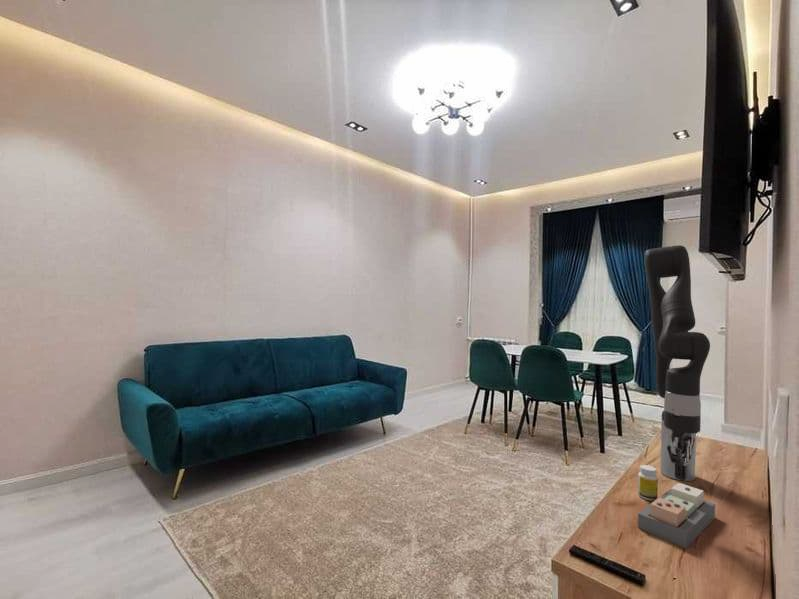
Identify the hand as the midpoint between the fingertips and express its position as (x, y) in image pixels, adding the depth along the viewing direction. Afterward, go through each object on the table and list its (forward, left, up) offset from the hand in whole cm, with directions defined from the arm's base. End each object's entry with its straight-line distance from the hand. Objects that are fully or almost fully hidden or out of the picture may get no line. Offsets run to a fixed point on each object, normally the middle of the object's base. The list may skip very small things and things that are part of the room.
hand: (680, 478), depth 100 cm
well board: (0, 0, -11) cm, 11 cm away
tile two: (0, 0, -9) cm, 9 cm away
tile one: (-7, 0, -8) cm, 10 cm away
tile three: (+7, 0, -8) cm, 11 cm away
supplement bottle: (-8, -10, -11) cm, 17 cm away
